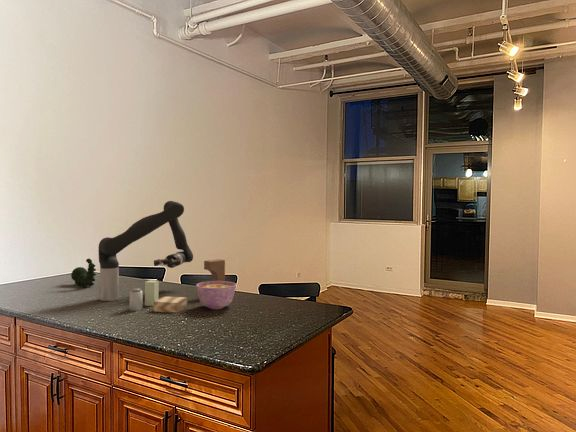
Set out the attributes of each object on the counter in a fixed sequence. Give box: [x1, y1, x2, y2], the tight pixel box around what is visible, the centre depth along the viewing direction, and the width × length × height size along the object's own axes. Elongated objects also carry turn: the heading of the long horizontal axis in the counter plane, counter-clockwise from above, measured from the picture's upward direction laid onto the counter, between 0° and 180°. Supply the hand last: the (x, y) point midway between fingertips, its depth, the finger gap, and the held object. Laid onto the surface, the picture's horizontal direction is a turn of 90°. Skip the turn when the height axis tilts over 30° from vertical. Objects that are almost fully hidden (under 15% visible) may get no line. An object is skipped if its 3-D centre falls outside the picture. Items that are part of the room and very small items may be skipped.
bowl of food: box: [195, 280, 237, 310], centre depth 216 cm, size 20×20×12 cm
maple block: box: [153, 296, 188, 313], centre depth 212 cm, size 12×12×5 cm
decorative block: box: [203, 258, 226, 281], centre depth 244 cm, size 11×6×20 cm, turn 136°
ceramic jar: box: [129, 287, 144, 312], centre depth 210 cm, size 6×6×10 cm
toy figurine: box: [71, 258, 97, 288], centre depth 267 cm, size 9×19×25 cm
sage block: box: [144, 279, 160, 307], centre depth 220 cm, size 5×5×12 cm
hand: (162, 264), depth 233 cm, fingers open, 8 cm apart
